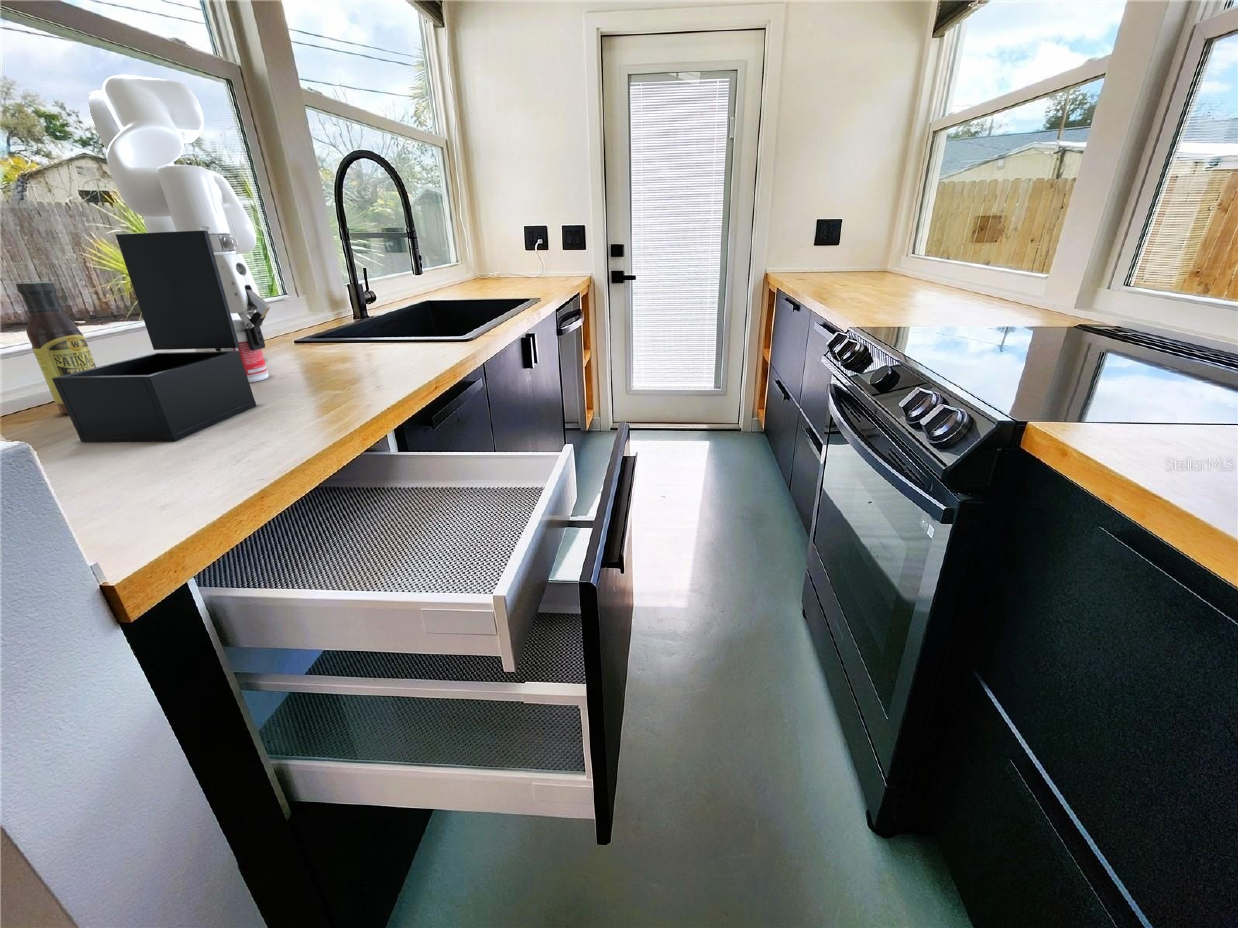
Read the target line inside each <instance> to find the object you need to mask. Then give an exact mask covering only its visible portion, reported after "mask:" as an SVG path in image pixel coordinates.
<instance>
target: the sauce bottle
mask: <svg viewBox="0 0 1238 928" xmlns="http://www.w3.org/2000/svg"><path fill="white" fill-rule="evenodd" d="M15 287H16V290H17V292H18V293H19V294H20V295H21V296H22V299H23V302H24V303H25V306H26V308H27V309H26V311H27V313H28V315H29V318H28V320H27V322H26V335H27V338H28V340H29V342H30V344H31V350H32V352H33V354H34V356H35V359H36V361H37V363H38V366H39V368H40V370H41V372H42V375H43V378H44V380H45V382H46V385H47V386H48V389H49V391H50V394H51V396H52V398H53V401H54V403H55V404H56V405H57V407H58V410H59V412H60V413H61V414H64V415H69V414H68V412H67V410H66V408H65V406H64V403H63V401H62V399H61V397H60V395H59V393H58V391H57V389H56V387H55V384H54V382H53V380H52V378H55V377H59V376H63V375H67V374H71V373H75V372H80V371H84V370H88V369H92V368H96V367H97V366H96V363H95V360H94V358H93V355H92V353H91V350H90V347H89V344H88V342H87V340H86V337H85V335H84V334H83V333H82V332H81V330H80V329H79V328H78V327H77V325H76V323H75V322H74V321H73V320H72V319H70V318H69V316H68V315H67V314H66V313H65V311H64V308H63V306H62V305H61V302H60V300H59V298H58V295H57V288H56V286H55V284H54V282H52V281H32V282H17V283H15Z"/></svg>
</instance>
